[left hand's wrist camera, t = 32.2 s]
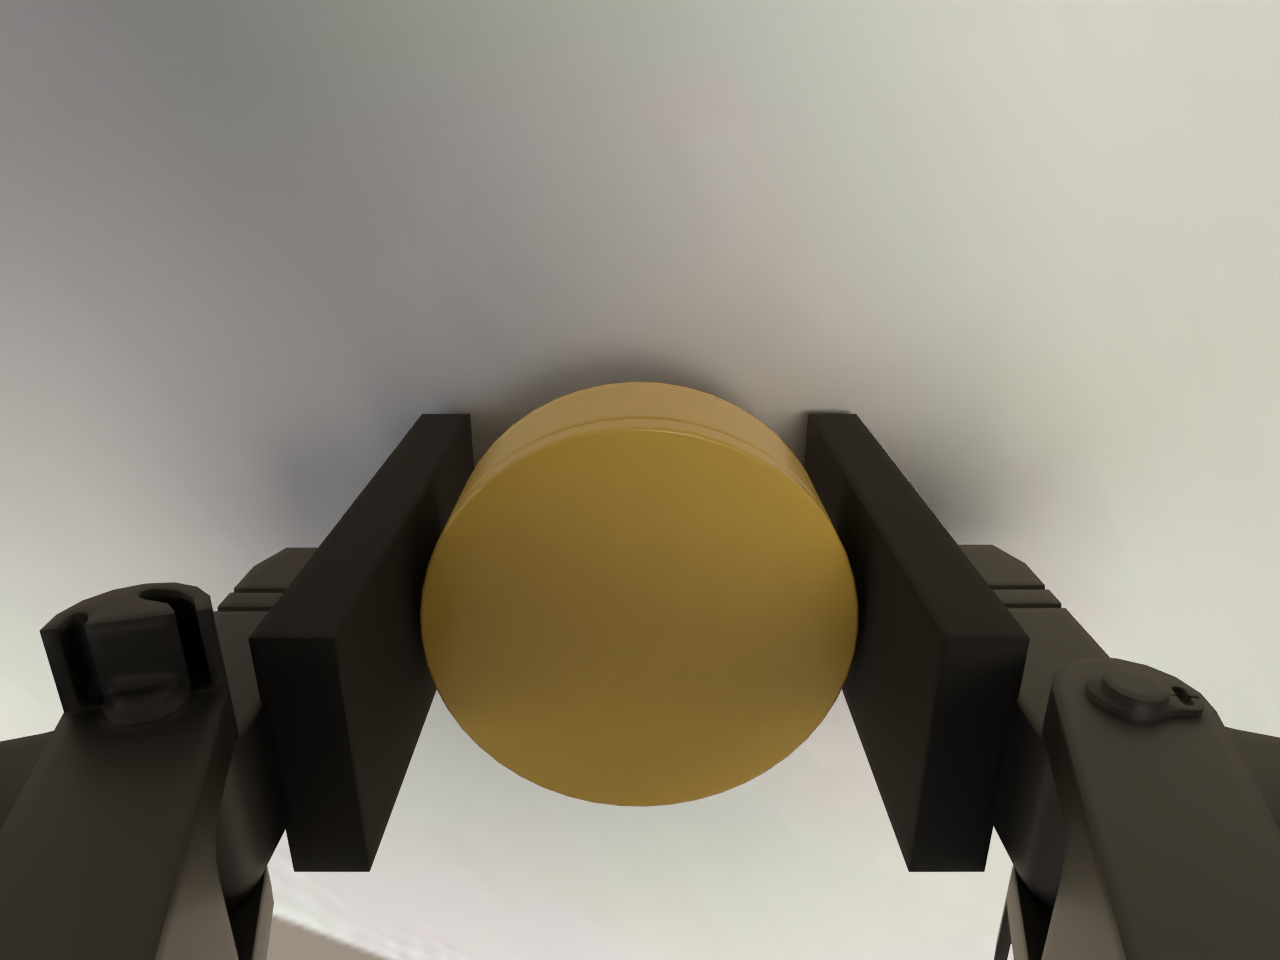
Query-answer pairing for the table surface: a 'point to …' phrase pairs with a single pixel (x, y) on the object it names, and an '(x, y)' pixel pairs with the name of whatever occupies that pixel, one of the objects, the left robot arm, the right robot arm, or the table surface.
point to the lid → (639, 598)
